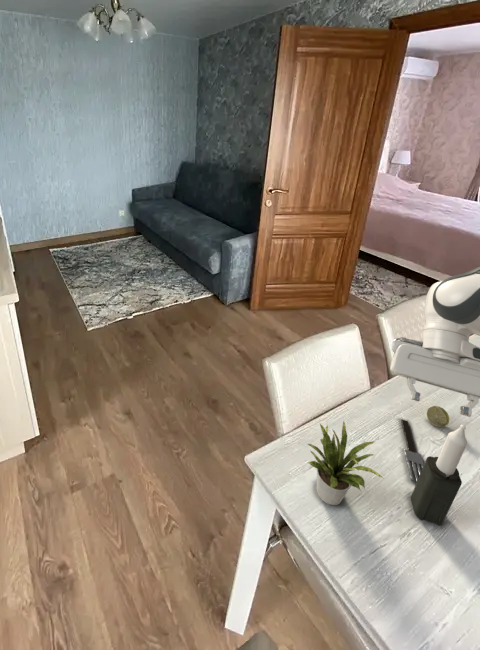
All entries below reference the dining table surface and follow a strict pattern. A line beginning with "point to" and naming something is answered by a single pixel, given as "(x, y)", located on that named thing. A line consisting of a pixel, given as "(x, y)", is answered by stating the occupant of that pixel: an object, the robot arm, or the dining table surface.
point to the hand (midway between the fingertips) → (439, 407)
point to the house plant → (338, 467)
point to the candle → (439, 480)
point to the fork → (411, 452)
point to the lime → (437, 416)
